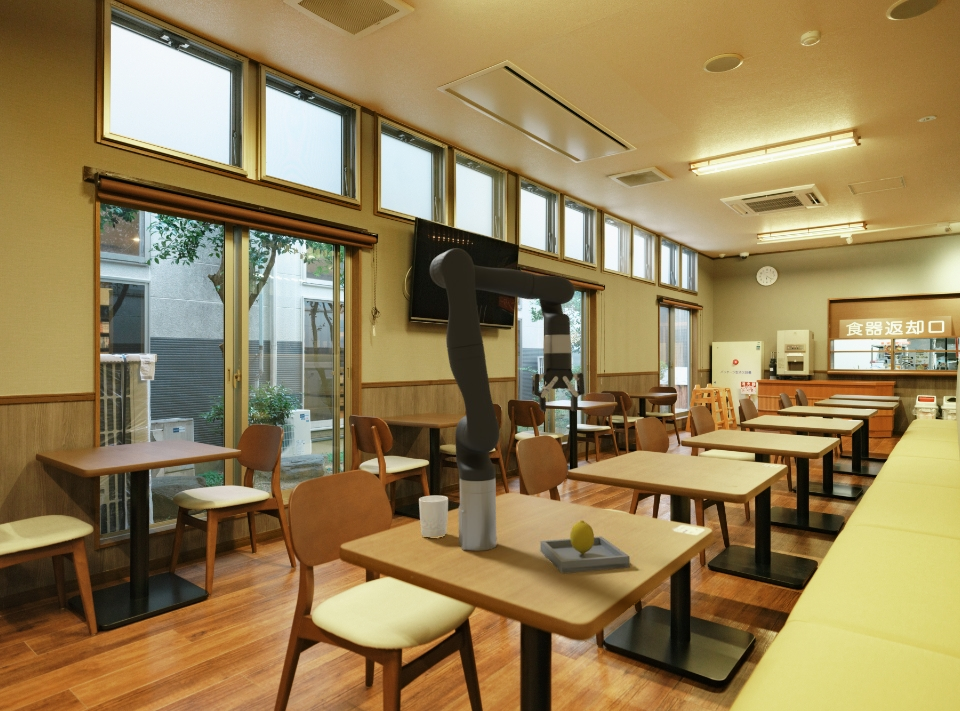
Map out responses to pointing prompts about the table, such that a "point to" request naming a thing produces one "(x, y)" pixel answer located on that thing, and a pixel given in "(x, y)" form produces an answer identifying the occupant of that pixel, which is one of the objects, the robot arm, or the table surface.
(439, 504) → the white cup
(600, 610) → the table surface
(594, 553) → the tray
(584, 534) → the lemon
